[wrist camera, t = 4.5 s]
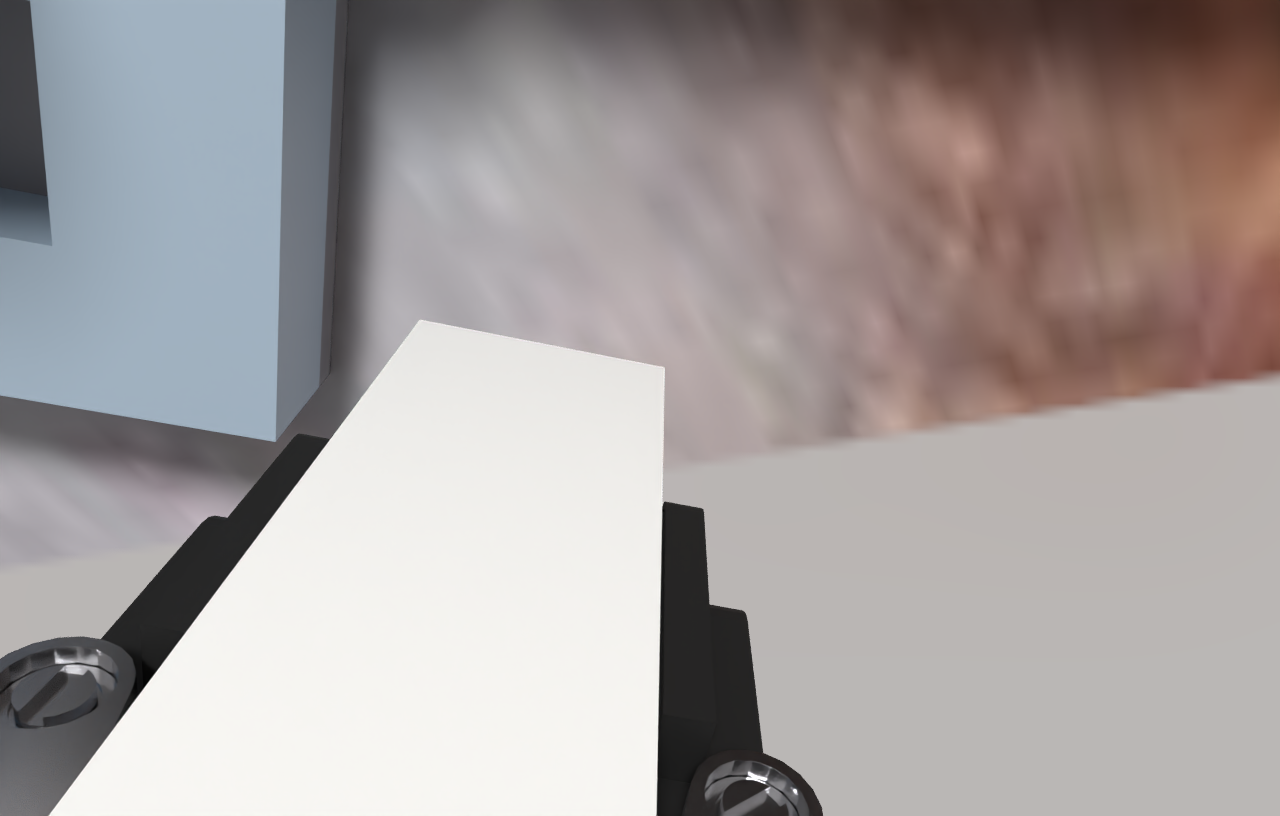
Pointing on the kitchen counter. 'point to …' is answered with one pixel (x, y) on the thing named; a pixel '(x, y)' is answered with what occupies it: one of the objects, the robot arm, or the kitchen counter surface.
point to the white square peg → (429, 610)
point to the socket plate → (170, 206)
